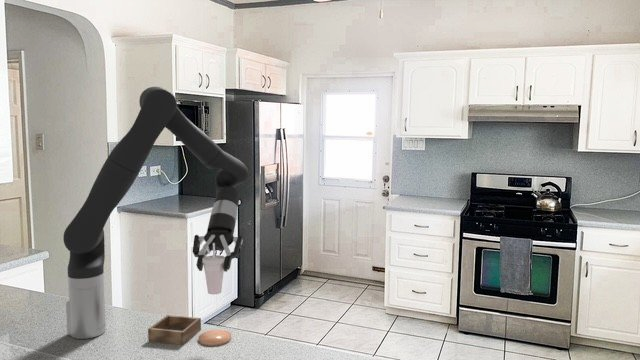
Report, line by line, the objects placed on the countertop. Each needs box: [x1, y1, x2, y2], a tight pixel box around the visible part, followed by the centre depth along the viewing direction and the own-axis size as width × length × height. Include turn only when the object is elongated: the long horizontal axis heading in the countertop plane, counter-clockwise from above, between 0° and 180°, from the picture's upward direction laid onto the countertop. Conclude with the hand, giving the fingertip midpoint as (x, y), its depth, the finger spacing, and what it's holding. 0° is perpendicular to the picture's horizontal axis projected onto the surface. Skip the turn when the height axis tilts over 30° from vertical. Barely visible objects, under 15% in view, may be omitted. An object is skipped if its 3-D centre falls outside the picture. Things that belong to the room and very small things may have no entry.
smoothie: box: [202, 243, 225, 295], centre depth 138 cm, size 6×6×14 cm
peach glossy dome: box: [198, 329, 233, 347], centre depth 140 cm, size 9×9×1 cm
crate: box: [147, 314, 202, 346], centre depth 142 cm, size 11×11×4 cm
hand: (212, 269), depth 137 cm, fingers closed on smoothie, 6 cm apart
